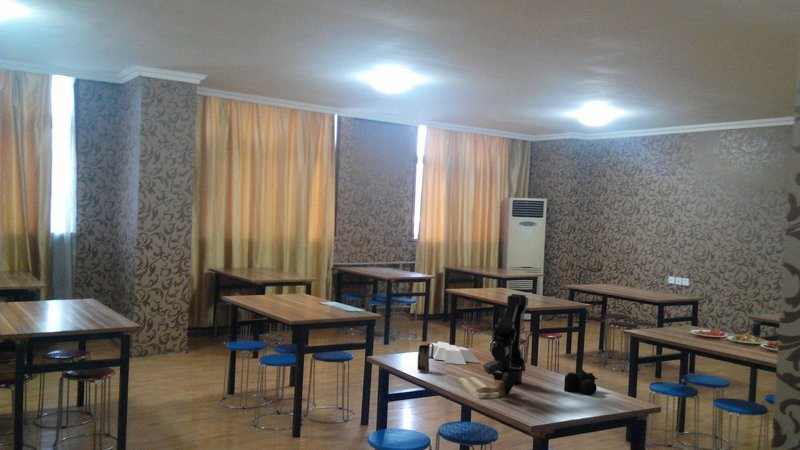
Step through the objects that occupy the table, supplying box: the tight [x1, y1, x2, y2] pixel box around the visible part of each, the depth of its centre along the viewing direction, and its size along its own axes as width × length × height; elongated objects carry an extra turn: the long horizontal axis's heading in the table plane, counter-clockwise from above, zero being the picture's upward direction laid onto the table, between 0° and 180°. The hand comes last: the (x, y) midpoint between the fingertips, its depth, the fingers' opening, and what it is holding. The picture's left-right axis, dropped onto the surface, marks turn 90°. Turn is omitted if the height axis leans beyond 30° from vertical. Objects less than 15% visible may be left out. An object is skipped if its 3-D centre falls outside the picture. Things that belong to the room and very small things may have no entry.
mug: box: [417, 342, 434, 372], centre depth 298 cm, size 8×6×12 cm
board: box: [454, 376, 500, 400], centre depth 268 cm, size 9×24×2 cm, turn 18°
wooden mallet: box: [476, 380, 511, 398], centre depth 260 cm, size 14×4×6 cm, turn 108°
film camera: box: [563, 369, 598, 396], centre depth 272 cm, size 15×10×9 cm, turn 106°
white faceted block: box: [429, 341, 481, 366], centre depth 328 cm, size 35×20×6 cm, turn 40°
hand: (502, 392), depth 262 cm, fingers open, 7 cm apart
